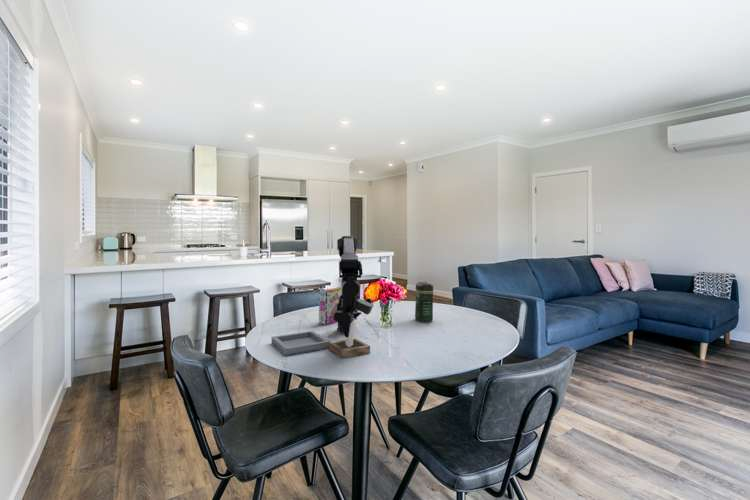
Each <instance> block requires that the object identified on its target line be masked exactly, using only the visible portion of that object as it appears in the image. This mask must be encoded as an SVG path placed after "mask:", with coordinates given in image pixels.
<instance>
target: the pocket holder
mask: <svg viewBox="0 0 750 500" xmlns="http://www.w3.org/2000/svg"><path fill="white" fill-rule="evenodd" d="M328 349H329V350H330V351H331V352H332V353H334V354H336V355H337V356H339V357H340V358H341V359H345V358H349V357H350V358H351V357H355V356H360V355H366V354H370V353H371V346H370V345H369V344H367V343H365V342H363V341H361V340H360V339H357V338H356V337H354V340H353V345H352V346H351V347H348V346H346V340H345V339H343V340H337V341H330V343H329V348H328Z"/></svg>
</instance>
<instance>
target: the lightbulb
mask: <svg viewBox="0 0 750 500" xmlns="http://www.w3.org/2000/svg"><path fill="white" fill-rule="evenodd" d="M353 319H354V318H353ZM358 327H359V325H358V321H357V320H355V319H354V320H353V321H352V322H351V325H350V332H349V337H345V336H344V340H346V346H348V347H347V348H352V347H353V346H352V345H353V340H354V338H355V334H356V332H357V330H358Z"/></svg>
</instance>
